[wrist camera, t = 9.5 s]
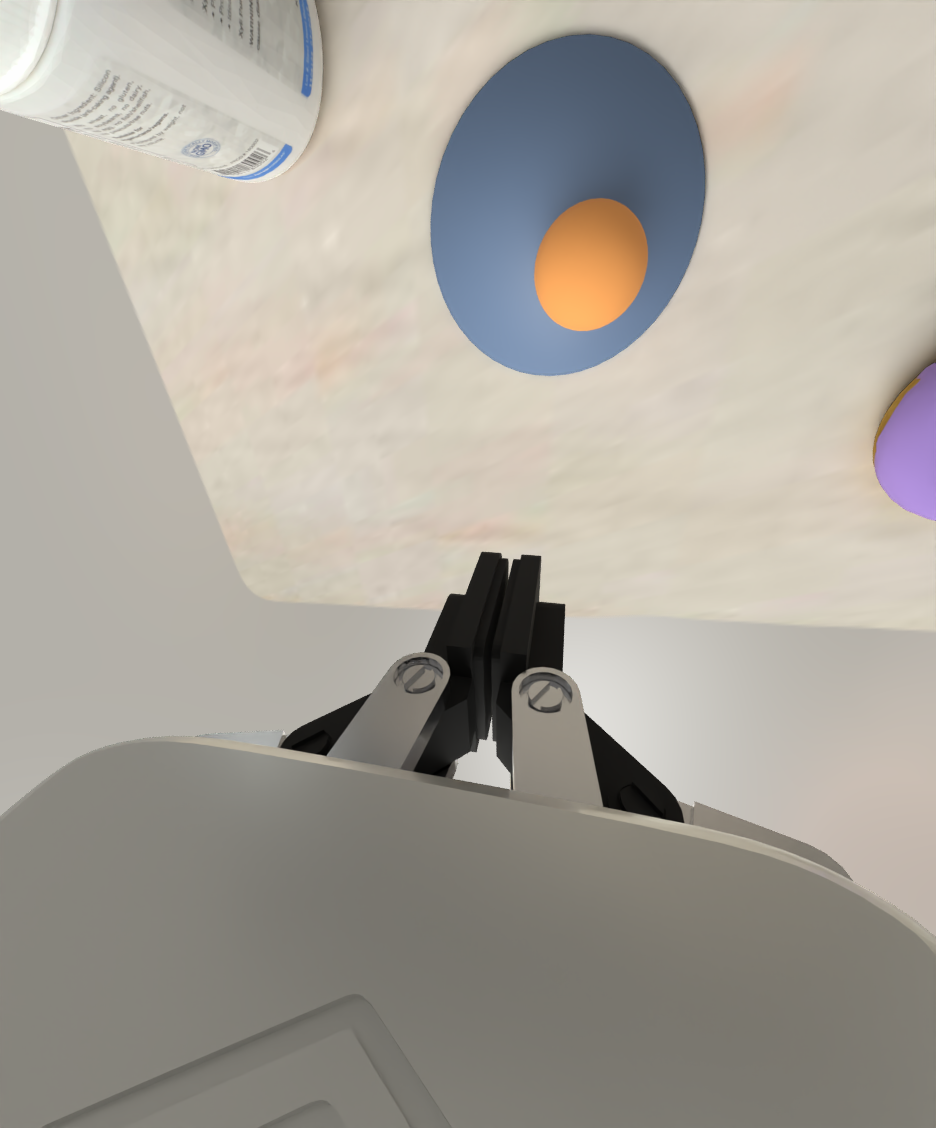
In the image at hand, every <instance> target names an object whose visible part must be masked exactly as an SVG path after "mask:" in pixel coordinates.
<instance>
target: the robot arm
mask: <svg viewBox="0 0 936 1128" xmlns="http://www.w3.org/2000/svg"><path fill="white" fill-rule="evenodd" d="M540 572H541V556H534V555H521V559H520V560H519V559H514V560H513V564H512V568H511V572H510V576H509V580H508V559H505V558H502V555H501V553H492V552H481V555H480V557H479V560H478V563H477V565H476V568H475V570H474V573H473V576H472V578H471V581H470V584H469V586H468V589H467V592H466V594H465V595H461V594H450V595H449V596H448V598H447V601H446V603H445V605H444V608H443V610H442V612H441V615H440V617H439V619H438V621H437V624H436V626H435V628H434V631H433V633H432V636H431V638H430V640H429V642H428V645H427V647H426V649H425V652H420V653H413V654H410V655H407V656H404V657H402V658H401V659H399V660H397V661H396V662H395V663H394V664H393V665H392V666H391V667H390V669H389V670H388V672H387V673H386V674H385V676H384V677H383V678H382V680H381V681H380V682H379V684H378V685H377V687H376V688H375V689H374V691H373V692H372V693H371V694H369V695H367V696H364V697H362V698H360V699H358V700H356V701H354V702H352V703H350V704H348V705H345V706H343V707H341V708H339V709H337V710H335V711H333V712H331V713H328V714H326V715H325V716H322V717H320V718H318V719H316V720H314V721H312V722H309V723H307V724H305V725H303V726H301V727H300V728H298V729H297V730H295V731H293V732H292V733H291V734H290V735H286V734H285V732H284V730H276V731H257V732H238V733H218V734H205V735H199V736H195V737H192V736H166V737H152V738H143V739H137V740H133V741H126V742H121V743H117V744H113V745H109V746H106V747H103V748H100V749H97V750H94V751H91V752H89V753H87V754H84V755H82V756H80V757H78V758H76V759H75V760H73V761H71V762H70V763H68V764H67V765H65V766H63V767H62V768H60V769H59V770H57V771H56V772H55V773H53V774H52V775H50V776H49V777H48V778H46V779H45V780H44V781H43V782H41V783H40V784H39V785H37V786H36V787H35V788H34V789H33V790H31V791H30V792H29V793H28V794H26V795H25V796H24V797H23V798H21V799H20V800H19V801H18V802H17V803H15V804H14V805H13V806H12V807H10V808H9V809H8V810H7V811H6V812H5V813H4V814H2V815H1V816H0V1128H936V937H935V936H934V935H933V934H931V933H930V932H929V931H928V930H927V929H925V928H924V927H923V926H922V925H921V924H919V923H918V922H917V921H916V920H914V919H913V918H912V917H910V916H909V915H907V914H906V913H904V912H903V911H901V910H900V909H898V908H897V907H896V906H894V905H893V904H891V903H889V902H888V901H886V900H885V899H883V898H881V897H880V896H878V895H876V894H875V893H873V892H872V891H870V890H868V889H866V888H865V887H863V886H861V885H859V884H857V883H855V882H854V881H853V880H852V879H851V878H850V876H849V875H848V874H847V872H846V871H845V870H844V869H843V867H841V866H840V865H839V864H838V863H837V862H836V861H834V860H833V859H832V858H831V857H830V856H828V855H827V854H826V853H824V852H822V851H820V850H818V849H816V848H815V847H813V846H811V845H808V844H806V843H803V842H801V841H798V840H796V839H793V838H790V837H788V836H785V835H782V834H779V833H777V832H774V831H772V830H769V829H766V828H764V827H761V826H759V825H756V824H753V823H751V822H748V821H745V820H743V819H740V818H737V817H735V816H732V815H729V814H726V813H724V812H721V811H719V810H716V809H713V808H711V807H708V806H706V805H703V804H700V803H697V802H694V804H693V806H690V805H687V804H685V803H682V802H680V801H677V800H676V798H675V797H674V796H673V794H672V793H671V792H670V791H669V790H668V789H667V788H666V786H665V785H663V784H662V783H661V782H660V781H659V780H658V779H657V778H656V777H655V776H653V775H652V774H651V773H650V772H649V771H648V770H647V769H646V768H645V767H644V766H643V765H641V764H640V763H639V762H638V761H637V760H636V759H635V758H634V757H633V756H632V755H630V754H629V753H628V752H627V751H626V750H625V749H624V748H623V747H622V746H621V745H619V744H618V743H617V742H616V741H615V740H614V739H613V738H612V737H611V736H610V735H608V734H607V733H606V732H605V731H604V730H603V729H602V728H601V727H600V726H599V725H597V724H596V723H595V722H594V721H593V720H592V719H591V718H589V716H587V715H586V714H585V713H584V709H583V704H582V699H581V695H580V691H579V688H578V686H577V684H576V683H575V682H574V680H572V678H571V677H570V676H568V675H566V674H565V673H563V672H562V671H563V669H562V668H563V647H564V621H565V604H557V603H547V602H539V590H540ZM491 717H492V727H493V729H492V730H493V741H496V743H497V745H496V746H497V757H498V758H499V759H500V761H501V762H502V763H503V764H504V766H505V767H506V768H507V770H508V771H509V772H510V789H504V788H499V787H493V786H488V785H483V784H477V783H472V782H466V781H461V780H455V779H453V776H454V774H455V772H456V768H457V764H458V758H460V757H462V756H463V755H465V754H466V753H468V752H470V751H472V752H477V747H478V743H479V739H483V740H486V739H487V737H488V732H489V727H490V722H491Z"/></svg>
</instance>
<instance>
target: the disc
mask: <svg viewBox="0 0 936 1128" xmlns="http://www.w3.org/2000/svg"><path fill="white" fill-rule="evenodd" d="M596 198H605V199H611V200H614V201H617V202H619V203H621V204H623V205H625V206H626V207H627V208H629V209H630V210H631V211H632V212H633V213H634V214H635V216H636V217H637V218H638V220H639V221H640V223H641V225H642V227H643V229H644V232H645V235H646V239H647V245H648V263H647V269H646V274H645V277H644V281H643V283H642V286H641V288H640V290H639V292H638V294H637V296H636V298H635V299H634V301H633V302H632V303H631V305H630V306H629V307H628V308H627V310H626V311H625V312H624V313H623V314H622V315H620V316H619V317H618V318H617V319H615V320H614V321H613V322H611V323H609V324H608V325H605V326H603V327H601V328H598V329H594V330H590V331H575V330H570V329H567V328H564V327H562V326H561V325H559V324H557V323H556V322H554V321H553V320H552V319H551V318H550V317H549V316H548V315H547V313H546V312H545V311H544V309H543V307H542V306H541V304H540V301H539V299H538V296H537V293H536V288H535V282H534V270H535V261H536V256H537V253H538V249H539V246H540V244H541V242H542V240H543V237H544V235H545V234H546V232H547V231H548V229H549V228H550V226H551V225H552V223H553V222H554V221H555V220H556V219H557V218H558V217H559V216H560V215H561V214H562V213H563V212H565V211H566V210H567V209H568V208H570V207H572V206H574V205H576V204H577V203H579V202H582V201H585V200H589V199H596ZM704 198H705V168H704V158H703V149H702V144H701V140H700V136H699V131H698V127H697V124H696V121H695V119H694V116H693V114H692V111H691V108H690V106H689V104H688V102H687V100H686V98H685V96H684V95H683V93H682V91H681V89H680V88H679V86H678V84H677V83H676V82H675V81H674V79H673V78H672V77H671V76H670V74H669V73H668V72H667V71H666V69H665V68H664V67H663V66H661V65H660V64H659V63H658V62H657V61H656V60H655V59H653V58H652V57H651V56H650V55H649V54H647V53H646V52H644V51H642V50H640V49H639V48H637V47H635V46H634V45H632V44H630V43H627V42H624V41H621V40H618V39H615V38H612V37H608V36H600V35H591V34H586V35H572V36H566V37H562V38H558V39H554V40H550V41H547V42H545V43H543V44H540V45H538V46H536V47H534V48H532V49H529V50H527V51H526V52H524V53H523V54H521V55H520V56H518V57H517V58H515V59H514V60H512V61H510V62H509V63H508V64H507V65H505V66H504V67H503V68H502V69H501V70H500V71H499V72H497V73H496V74H495V75H494V76H493V77H492V78H491V79H490V80H489V81H488V82H487V83H486V84H485V86H484V87H483V88H482V89H481V90H480V91H479V92H478V94H477V95H476V96H475V97H474V99H473V100H472V102H471V103H470V105H469V106H468V108H467V109H466V110H465V112H464V113H463V115H462V117H461V119H460V120H459V122H458V124H457V126H456V128H455V130H454V132H453V134H452V135H451V138H450V140H449V143H448V145H447V148H446V150H445V153H444V155H443V158H442V161H441V165H440V168H439V172H438V175H437V179H436V184H435V189H434V195H433V200H432V212H431V247H432V255H433V263H434V267H435V272H436V276H437V280H438V284H439V286H440V289H441V292H442V295H443V298H444V300H445V302H446V304H447V307H448V309H449V311H450V313H451V315H452V316H453V318H454V320H455V321H456V323H457V324H458V326H459V328H460V329H461V330H462V331H463V333H464V334H465V335H466V336H467V337H468V339H469V340H470V341H471V342H472V343H473V344H474V345H475V346H476V347H477V348H478V349H479V350H481V351H482V352H483V353H484V354H486V355H487V356H489V357H490V358H491V359H493V360H494V361H496V362H498V363H500V364H502V365H504V366H506V367H508V368H511V369H514V370H516V371H519V372H523V373H528V374H533V375H545V376H554V375H566V374H570V373H575V372H579V371H583V370H585V369H588V368H591V367H594V366H596V365H598V364H600V363H602V362H604V361H606V360H608V359H610V358H612V357H614V356H615V355H617V354H618V353H619V352H621V351H622V350H624V349H625V348H627V347H628V346H629V345H630V344H632V343H633V342H634V341H635V340H636V339H638V338H639V337H640V336H641V335H642V334H643V333H644V332H645V331H646V330H647V329H648V328H649V327H650V325H651V324H652V323H653V322H654V321H655V320H656V319H657V317H658V316H659V315H660V313H661V312H662V311H663V309H664V308H665V307H666V306H667V304H668V302H669V301H670V299H671V298H672V296H673V294H674V293H675V291H676V289H677V288H678V286H679V284H680V282H681V280H682V278H683V276H684V274H685V271H686V269H687V267H688V265H689V262H690V259H691V256H692V254H693V251H694V248H695V245H696V241H697V237H698V233H699V229H700V225H701V221H702V213H703V206H704Z"/></svg>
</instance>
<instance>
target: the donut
mask: <svg viewBox="0 0 936 1128" xmlns="http://www.w3.org/2000/svg"><path fill="white" fill-rule="evenodd" d="M873 464H874V467H875V472H876V475H877V478H878V480H879V483H880V485H881V486H882V488H883V489H884V490H885V492H886V493H887V494H888V496H889V497H890V498H891V499H892V500H893V501H894V502H896V503H897V504H898V505H900V506H901V507H902V508H903V509H905V510H907V511H910V512H912V513H915V514H917V515H919V516H922V517H924V518H927V519H931V520H935V521H936V363H933V364H931V365H930V366H928V367H926V368H925V369H924V370H923V371H922V372H921V373H920V375H919V376H917V377H916V378H915V379H914V380H913V381H912V382H911V383H910V384H909V385H908V386H907V387H906V388H905V389H904V390H903V391H902V392H901V393H900V394H899V396H898V397H897V398H896V400H895V401H894V402H893V404H892V405H891V406H890V407H889V409H888V410H887V412H886V414H885V416H884V417H883V419H882V421H881V423H880V426H879V428H878V431H877V434H876V436H875V441H874V447H873Z"/></svg>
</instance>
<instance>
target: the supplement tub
mask: <svg viewBox="0 0 936 1128" xmlns="http://www.w3.org/2000/svg"><path fill="white" fill-rule="evenodd" d="M322 82H323V52H322V39H321V32H320V25H319V19H318V14H317V9H316V5H315V1H314V0H0V110H3V111H6V112H9V113H12V114H16V115H19V116H22V117H26V118H29V119H33V120H36V121H39V122H42V123H46V124H49V125H52V126H56V127H59V128H62V129H66V130H69V131H72V132H76V133H79V134H82V135H85V136H89V137H92V138H95V139H99V140H102V141H105V142H108V143H112V144H115V145H118V146H122V147H125V148H129V149H132V150H135V151H139V152H142V153H145V154H148V155H152V156H155V157H159V158H162V159H166V160H169V161H172V162H175V163H179V164H182V165H185V166H189V167H192V168H195V169H199V170H202V171H205V172H209V173H212V174H215V175H219V176H222V177H226V178H229V179H232V180H236V181H241V182H247V183H258V182H264V181H267V180H270V179H273V178H275V177H277V176H279V175H281V174H282V173H284V172H285V171H287V170H288V169H289V168H290V167H291V166H292V165H293V164H294V163H295V162H296V161H297V160H298V159H299V157H300V156H301V154H302V153H303V151H304V150H305V148H306V146H307V144H308V142H309V140H310V138H311V136H312V133H313V131H314V128H315V125H316V122H317V118H318V115H319V109H320V103H321V95H322Z"/></svg>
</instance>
